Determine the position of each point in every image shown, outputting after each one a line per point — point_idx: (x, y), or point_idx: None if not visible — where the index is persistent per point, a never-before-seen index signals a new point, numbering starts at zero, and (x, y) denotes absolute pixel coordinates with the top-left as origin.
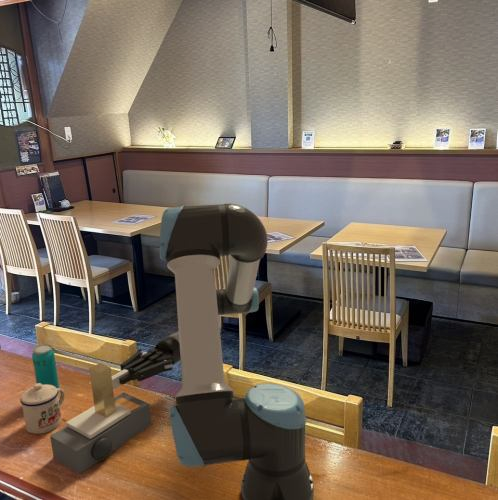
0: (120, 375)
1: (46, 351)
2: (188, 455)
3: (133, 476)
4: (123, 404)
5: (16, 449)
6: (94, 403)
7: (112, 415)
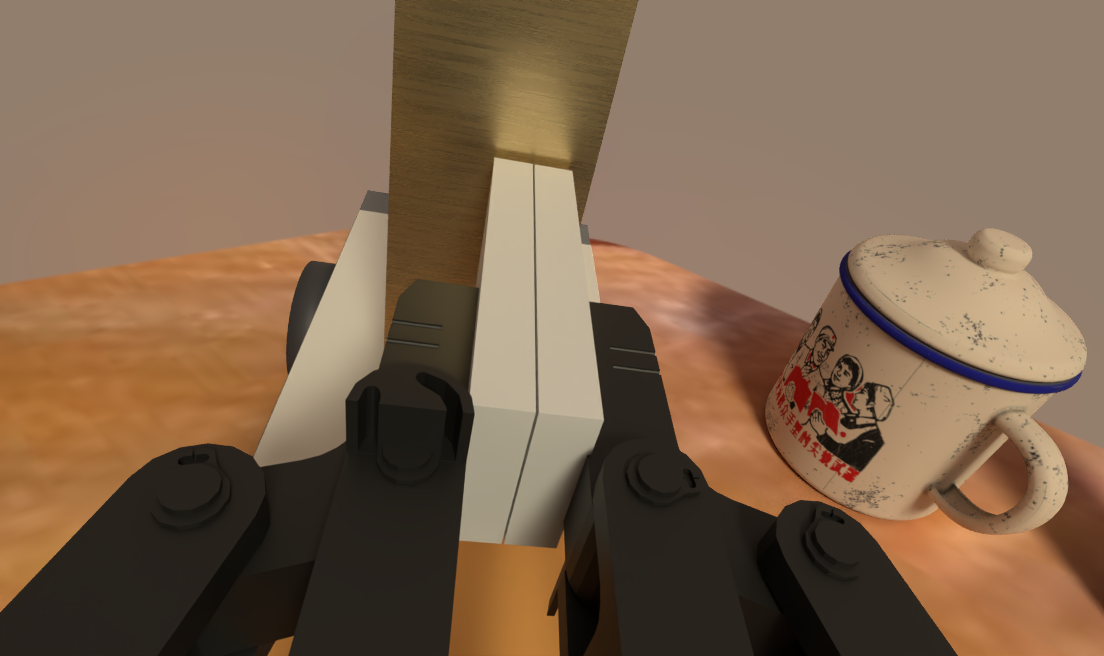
0: (481, 274)
1: None
2: None
3: (62, 355)
4: (455, 589)
5: (729, 312)
6: None
7: (365, 354)
